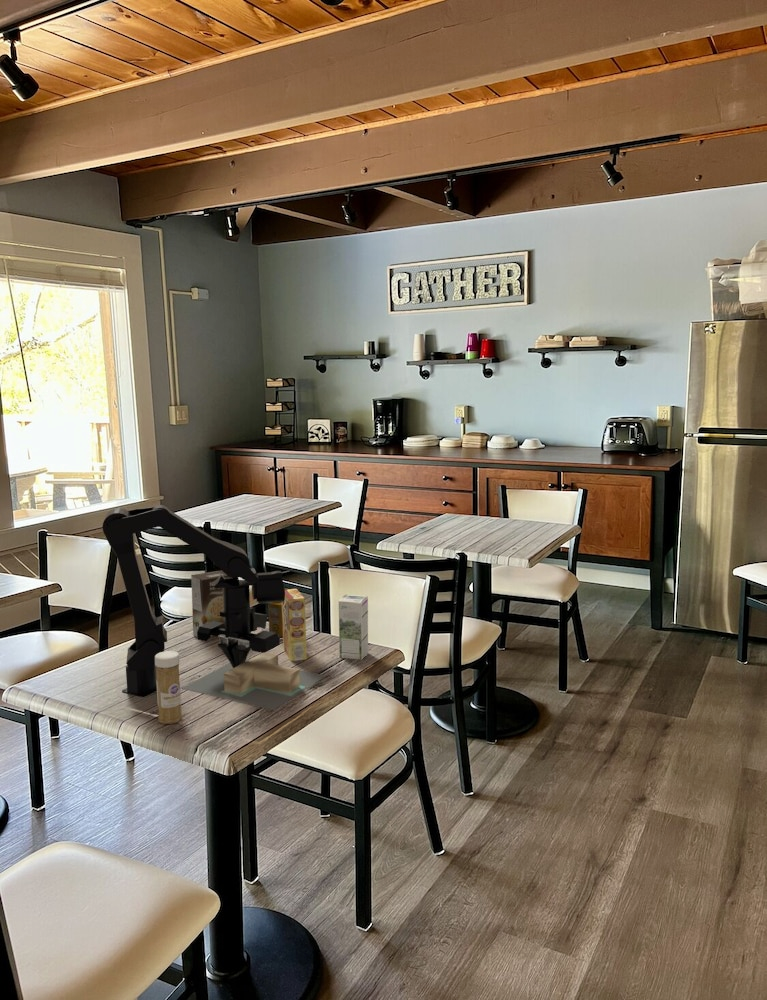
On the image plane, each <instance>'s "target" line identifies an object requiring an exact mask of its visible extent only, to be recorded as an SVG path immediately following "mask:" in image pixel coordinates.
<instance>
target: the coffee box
mask: <svg viewBox="0 0 767 1000" xmlns="http://www.w3.org/2000/svg"><path fill="white" fill-rule="evenodd" d="M220 574H221V575H222V576H223V577H225V578H231V577H229V576H228V575H226V574H225V573H224V572H223V571H222V570H221V569H220V570H216V571H208V572H201V573H196V574H191V576H190V579H191V604H192V605H191V607H192V611H191V612H192V633H193V634H192V635H193V636H194V637H196V638H197V630H198V628H199V627H200V626H202V625H204V624H206V623H209V622H211V621H216V622H221V623H224V617H221V616H220V611H223V588H215V587H214V584H213V582H214V581H215V580H216V579H217V578H218V577H219V575H220ZM213 638H219V637H218V636H213V635H211V638H210V639H213Z"/></svg>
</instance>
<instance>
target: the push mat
mask: <svg viewBox="0 0 767 1000" xmlns="http://www.w3.org/2000/svg"><path fill="white" fill-rule="evenodd" d="M248 660H250V659H249V658H248V659H247V658H246V661H248ZM246 661H245V662H246ZM231 669H233V667H232V665H231V663H230V662H229V663H227V664H225V665H224V666H222V667H220V668H218V669H216V670H214V671H212V672H210V673H208V674H206V675H204V676H203V677H200V678H198V679H196V680H194V681H192V682H191V683H189V684H187V685H184V686H183V687H182V688H181V689H183V690H187V691H191V692H195V693H198V694H204V695H208V696H212V697H215V698H219V699H225V700H229V701H233V702H237V703H240V704H244V705H250V706H253V707H258V708H260V709H261V708H262V709H265V710H269V711H275V710H276V709H278V708H279V707H281V706H283V705H284V704H286V703H287V702H289V701H291V700H292V699H294V698H295V697H296V696H298V695H300V694H301V693H302V692H305V690H307V689H309V688H310V687H312V686H314V685H315V684H317V683H318V682H319V681H321V680H322V679H324V678H326V677H327V674H326V675H325V674H320V673H317V672H311V671H306V670H301V669H299V681H300V687H299V688H298V689H296V690H294V691H293V692H291V693H290V694H287V693H282V692H278V691H273V690H269V689H264V688H260V687H255V686H254V687H252V688H251V689H249V690H247V691H245V692H244V693H242V694H240V695H238V694H234V693H229V692H225V689H224V673H226V672H227V671H229V670H231Z"/></svg>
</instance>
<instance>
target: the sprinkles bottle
mask: <svg viewBox="0 0 767 1000" xmlns="http://www.w3.org/2000/svg"><path fill="white" fill-rule="evenodd" d="M155 665H156V666H155V667H156V674H157V680H156V683H157V691H156V698H157V708H158V718H157V719H158V722H159V723H160V724H164V725H171V724H175V723H177V722H180V720H182V718H183V715H182V698H181V697H182V696H181V695H182V694H181V693H182V692H181V686H180V685H181V683H180V667H179V666H180V654H179V652H177V651H174V650H167V651H165V650H164V652H160V653H158V654H156V655H155Z"/></svg>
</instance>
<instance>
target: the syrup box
mask: <svg viewBox="0 0 767 1000" xmlns="http://www.w3.org/2000/svg"><path fill="white" fill-rule="evenodd" d="M338 640H339V641H338V642H339V643H338V644H339V645H338V646H339V658H341V659H348V658H349V660H358V659H359V660H361V661H362V659H363V658H364V657H365V656H366V657H367V655H368V654H369V598H368V596H367V595H358V594H357V595H356V594H345V595H343V596H342V597H341V598H339V600H338ZM367 653H368V654H367ZM366 654H367V655H366ZM366 657H365V658H366ZM365 658H364V659H365ZM364 659H363V660H364Z"/></svg>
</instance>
